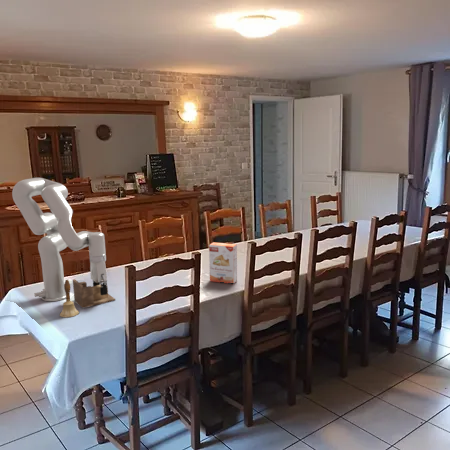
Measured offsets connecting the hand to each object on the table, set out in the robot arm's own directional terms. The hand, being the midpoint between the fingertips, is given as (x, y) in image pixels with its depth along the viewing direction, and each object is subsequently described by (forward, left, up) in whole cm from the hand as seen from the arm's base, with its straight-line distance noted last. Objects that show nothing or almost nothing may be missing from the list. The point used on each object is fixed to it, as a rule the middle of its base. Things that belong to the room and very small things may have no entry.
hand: (100, 291), depth 221 cm
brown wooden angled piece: (-3, 0, -4) cm, 5 cm away
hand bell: (-18, -9, -4) cm, 21 cm away
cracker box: (+63, -15, -4) cm, 65 cm away
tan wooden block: (-3, 0, -3) cm, 4 cm away
